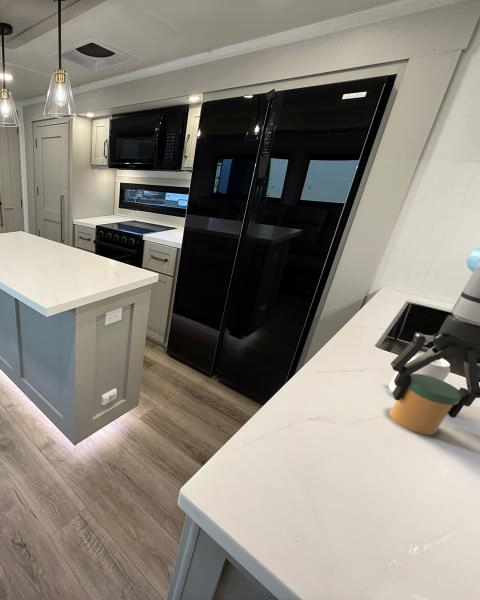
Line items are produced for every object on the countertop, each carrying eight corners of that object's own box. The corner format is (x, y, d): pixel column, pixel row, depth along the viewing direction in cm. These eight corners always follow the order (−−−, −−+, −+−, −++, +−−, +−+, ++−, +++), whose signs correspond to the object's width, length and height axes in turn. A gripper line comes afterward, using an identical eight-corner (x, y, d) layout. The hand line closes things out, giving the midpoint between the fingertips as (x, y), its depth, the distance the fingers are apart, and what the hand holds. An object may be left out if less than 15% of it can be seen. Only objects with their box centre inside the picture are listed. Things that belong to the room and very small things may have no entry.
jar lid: (450, 389, 72) (454, 383, 72) (466, 411, 66) (470, 404, 65) (400, 375, 77) (403, 369, 76) (410, 394, 70) (414, 388, 69)
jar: (429, 419, 76) (451, 384, 72) (440, 440, 70) (466, 404, 66) (386, 405, 80) (405, 372, 76) (393, 424, 74) (414, 389, 69)
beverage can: (426, 410, 79) (450, 371, 74) (384, 392, 85) (405, 355, 80) (431, 398, 83) (455, 361, 78) (391, 381, 89) (411, 346, 84)
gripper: (546, 328, 61) (481, 415, 70) (401, 301, 72) (361, 379, 81) (572, 344, 55) (497, 437, 65) (410, 312, 66) (366, 395, 75)
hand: (422, 405), depth 73 cm, fingers closed on jar lid, 9 cm apart
